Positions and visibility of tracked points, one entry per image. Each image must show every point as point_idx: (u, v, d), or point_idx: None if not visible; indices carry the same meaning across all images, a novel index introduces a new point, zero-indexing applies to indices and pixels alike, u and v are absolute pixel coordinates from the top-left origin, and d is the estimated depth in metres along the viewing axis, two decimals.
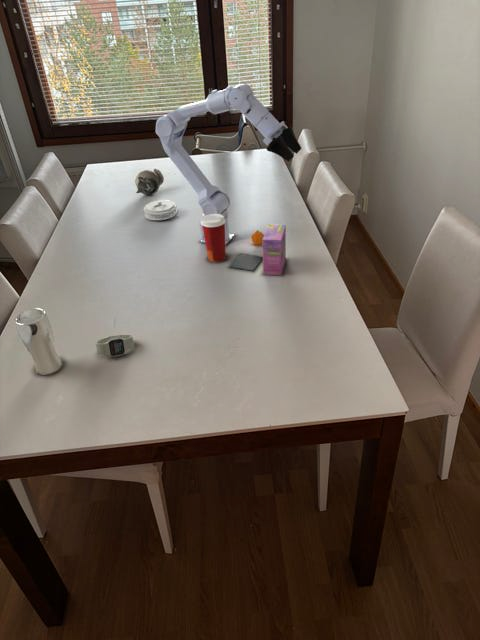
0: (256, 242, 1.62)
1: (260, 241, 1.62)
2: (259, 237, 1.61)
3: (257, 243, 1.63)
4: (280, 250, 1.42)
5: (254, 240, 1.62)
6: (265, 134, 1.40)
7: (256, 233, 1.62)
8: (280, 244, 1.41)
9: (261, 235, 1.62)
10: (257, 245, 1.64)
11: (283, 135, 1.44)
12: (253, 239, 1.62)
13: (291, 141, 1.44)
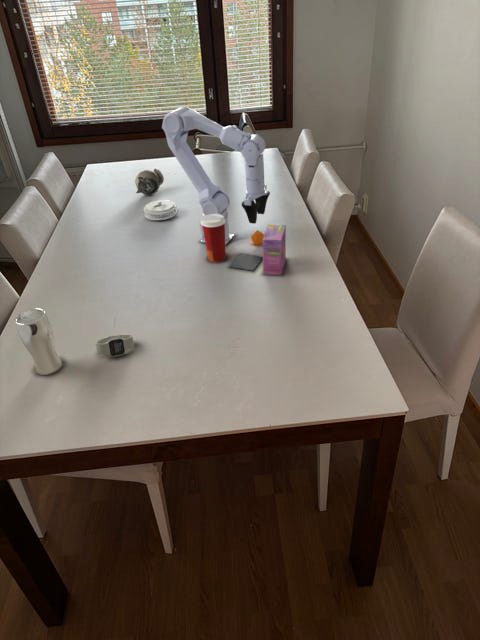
0: (256, 242, 1.62)
1: (260, 241, 1.62)
2: (259, 237, 1.61)
3: (257, 243, 1.63)
4: (280, 250, 1.42)
5: (254, 240, 1.62)
6: (249, 190, 1.52)
7: (256, 233, 1.62)
8: (280, 244, 1.41)
9: (261, 235, 1.62)
10: (257, 245, 1.64)
11: None
12: (253, 239, 1.62)
13: (261, 203, 1.60)
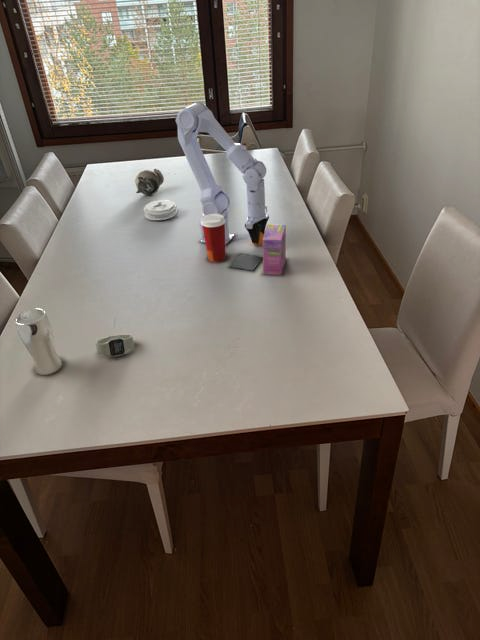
0: None
1: (260, 241, 1.62)
2: (259, 237, 1.62)
3: None
4: (280, 250, 1.42)
5: None
6: (250, 214, 1.57)
7: None
8: (280, 244, 1.41)
9: (261, 235, 1.62)
10: (257, 245, 1.64)
11: None
12: None
13: (260, 227, 1.64)
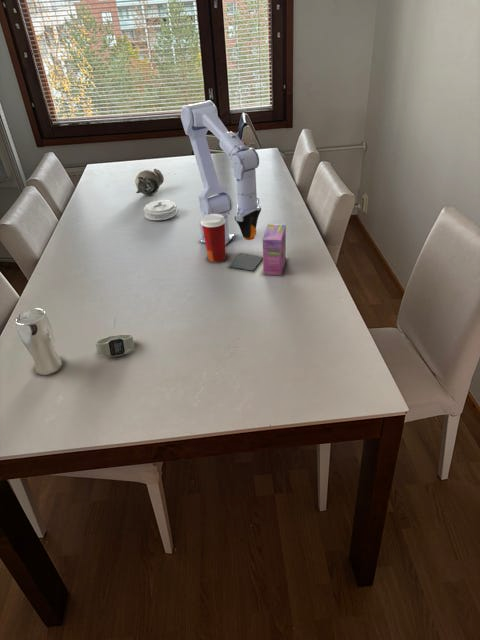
0: None
1: (252, 235, 1.50)
2: (251, 231, 1.49)
3: None
4: (280, 250, 1.42)
5: None
6: (240, 205, 1.45)
7: None
8: (280, 244, 1.41)
9: (253, 229, 1.50)
10: (249, 239, 1.52)
11: None
12: None
13: (252, 220, 1.51)
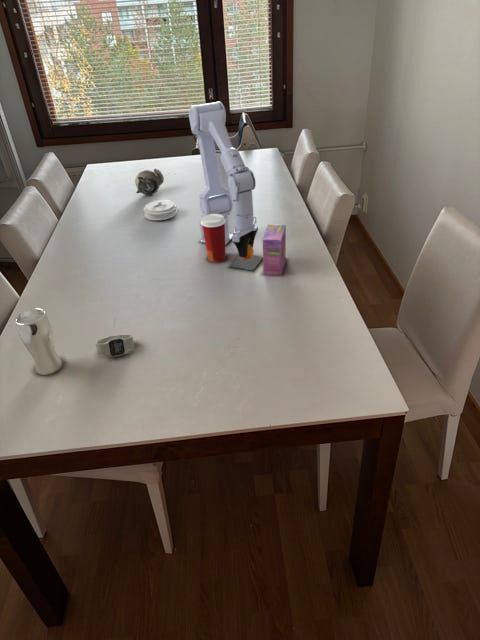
0: None
1: (248, 255, 1.51)
2: (248, 251, 1.50)
3: None
4: (280, 250, 1.42)
5: None
6: (237, 226, 1.45)
7: None
8: (280, 244, 1.41)
9: (250, 248, 1.50)
10: None
11: None
12: None
13: (249, 239, 1.52)
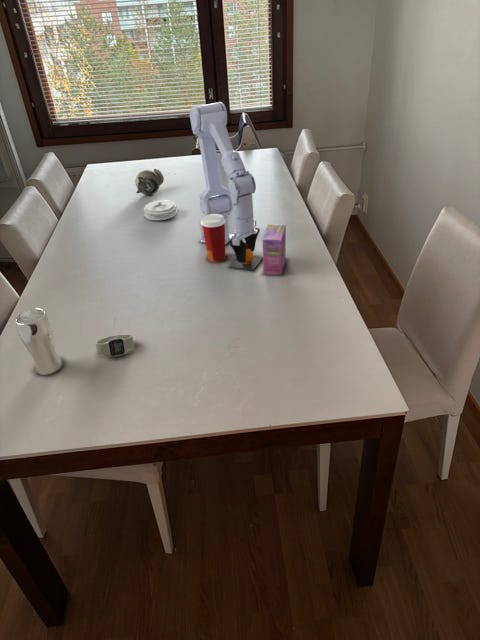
0: (245, 260, 1.52)
1: (249, 259, 1.52)
2: (248, 256, 1.51)
3: (246, 261, 1.52)
4: (280, 250, 1.42)
5: None
6: (237, 229, 1.46)
7: None
8: (280, 244, 1.41)
9: (250, 253, 1.51)
10: (246, 263, 1.53)
11: None
12: None
13: (251, 241, 1.54)
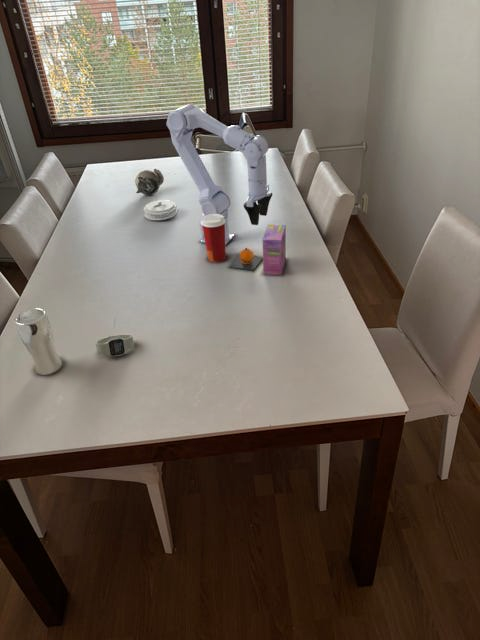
0: (245, 260, 1.52)
1: (249, 259, 1.52)
2: (248, 256, 1.51)
3: (246, 261, 1.52)
4: (280, 250, 1.42)
5: (242, 258, 1.52)
6: (251, 192, 1.51)
7: (245, 251, 1.51)
8: (280, 244, 1.41)
9: (250, 253, 1.51)
10: (246, 263, 1.53)
11: None
12: (241, 257, 1.52)
13: (263, 205, 1.59)
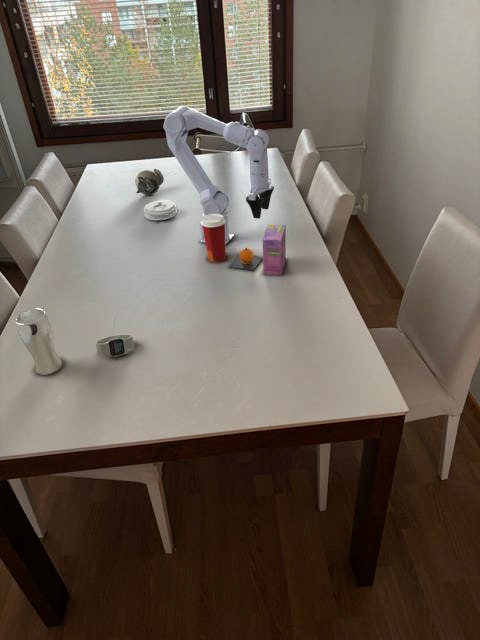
0: (245, 260, 1.52)
1: (249, 259, 1.52)
2: (248, 256, 1.51)
3: (246, 261, 1.52)
4: (280, 250, 1.42)
5: (242, 258, 1.52)
6: (253, 185, 1.52)
7: (245, 251, 1.51)
8: (280, 244, 1.41)
9: (250, 253, 1.51)
10: (246, 263, 1.53)
11: None
12: (241, 257, 1.52)
13: (265, 198, 1.60)
